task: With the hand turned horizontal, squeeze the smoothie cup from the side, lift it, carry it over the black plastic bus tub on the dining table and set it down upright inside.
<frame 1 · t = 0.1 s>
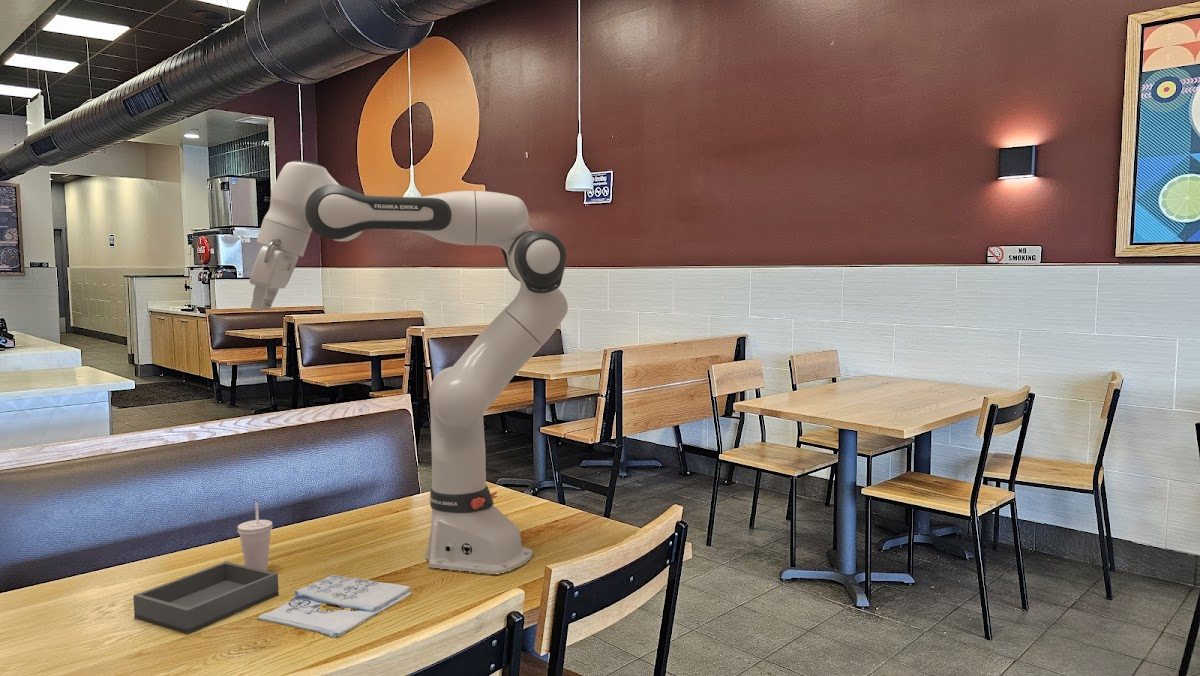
hand: (260, 309, 152), 52 cm above the table, tool tilted 20°, fingers open, 8 cm apart
bus tub: (209, 606, 139), on the table
folded bicycle print cloth: (335, 610, 139), on the table
smoothie: (256, 573, 155), on the table
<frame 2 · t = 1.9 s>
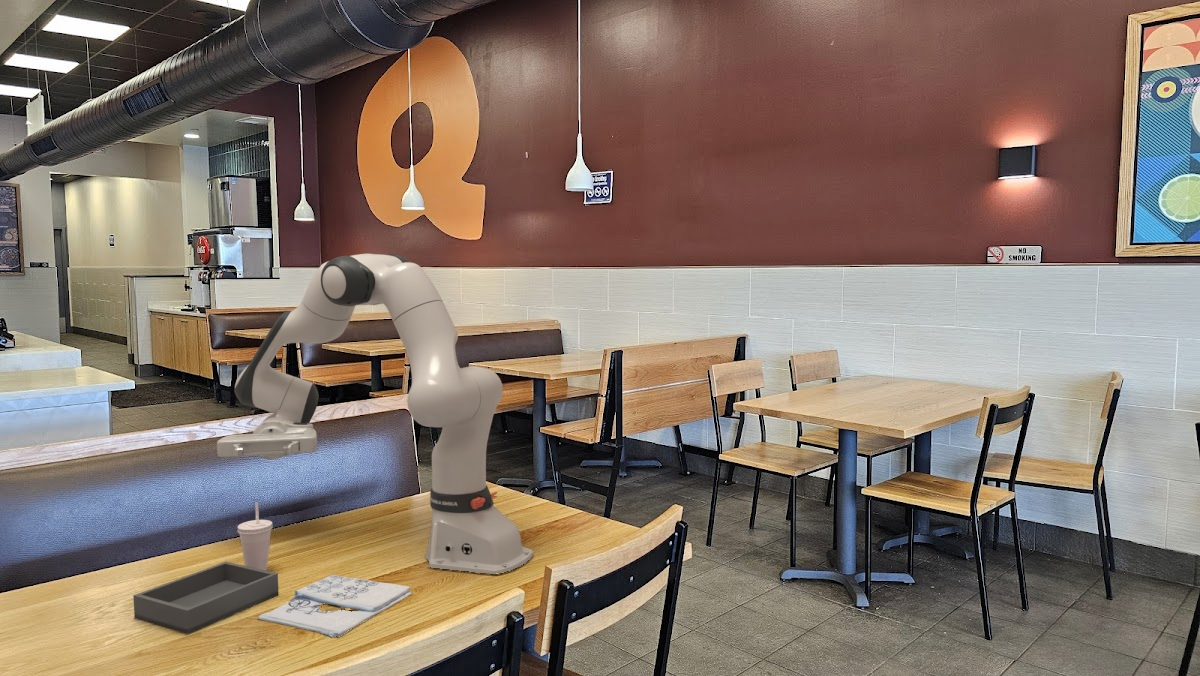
hand: (263, 451, 165), 22 cm above the table, tool horizontal, fingers open, 8 cm apart
nothing on the table moved.
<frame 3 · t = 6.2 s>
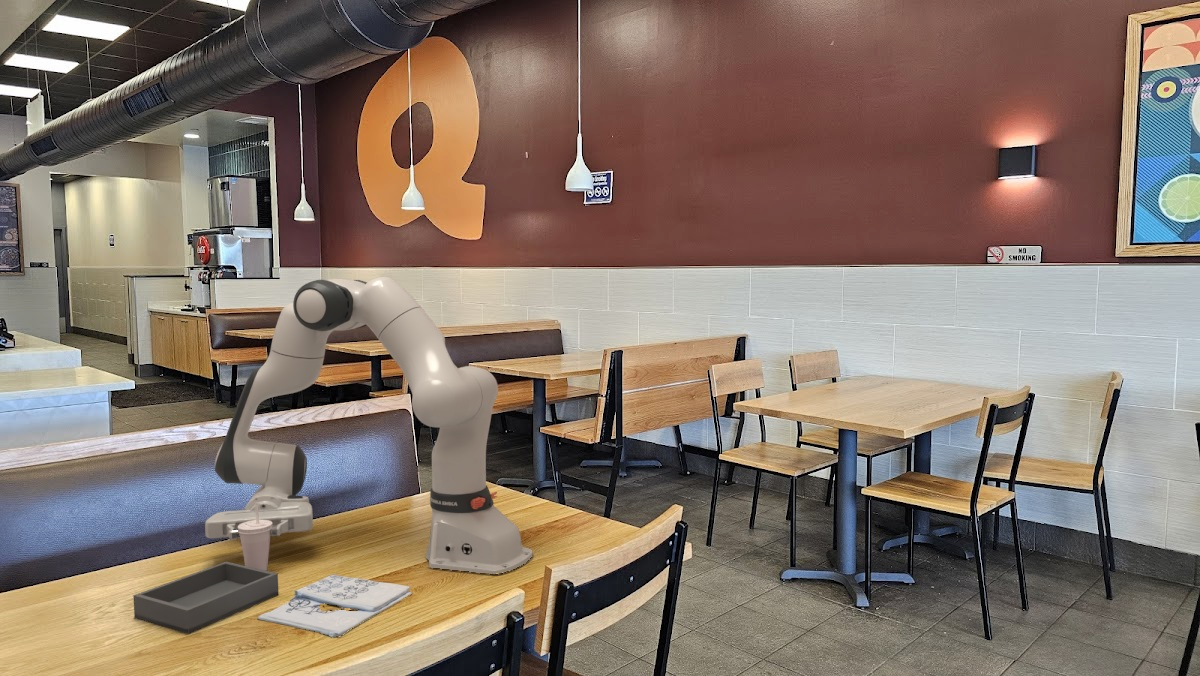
hand: (254, 533, 153), 8 cm above the table, tool horizontal, fingers closed on smoothie, 6 cm apart
smoothie: (256, 573, 155), on the table, touching gripper
everything else where it was.
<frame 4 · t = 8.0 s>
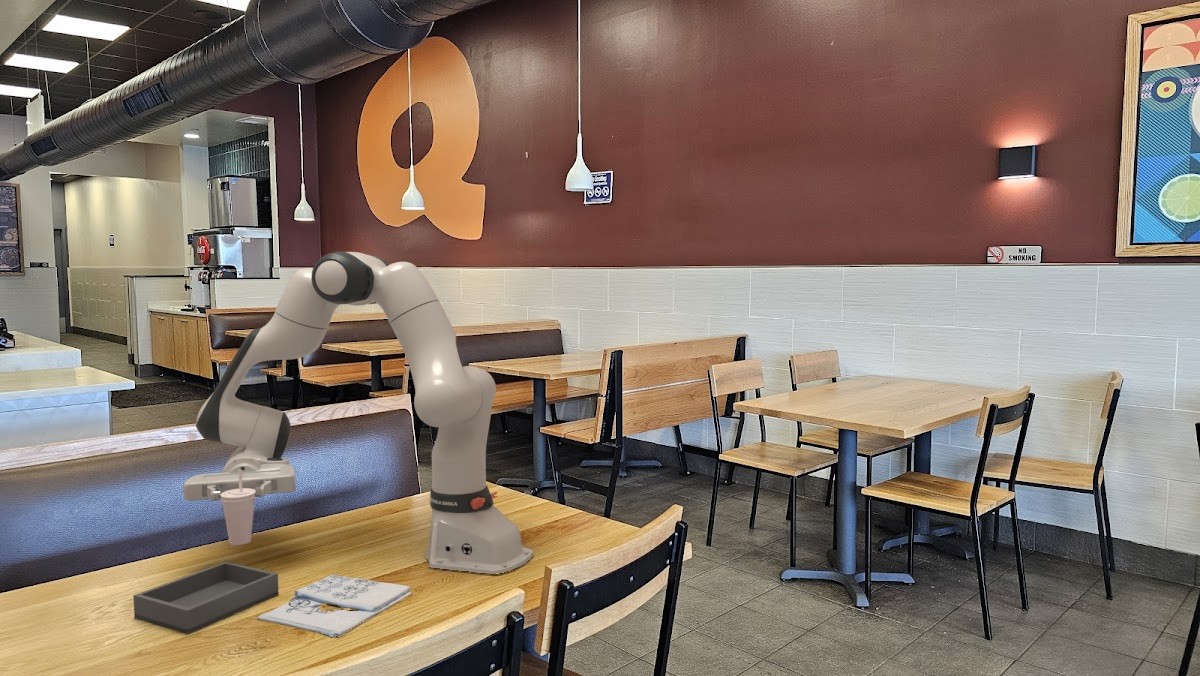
hand: (237, 494, 149), 17 cm above the table, tool horizontal, fingers closed on smoothie, 6 cm apart
smoothie: (240, 542, 151), point 7 cm above the table, touching gripper
everything else where it was.
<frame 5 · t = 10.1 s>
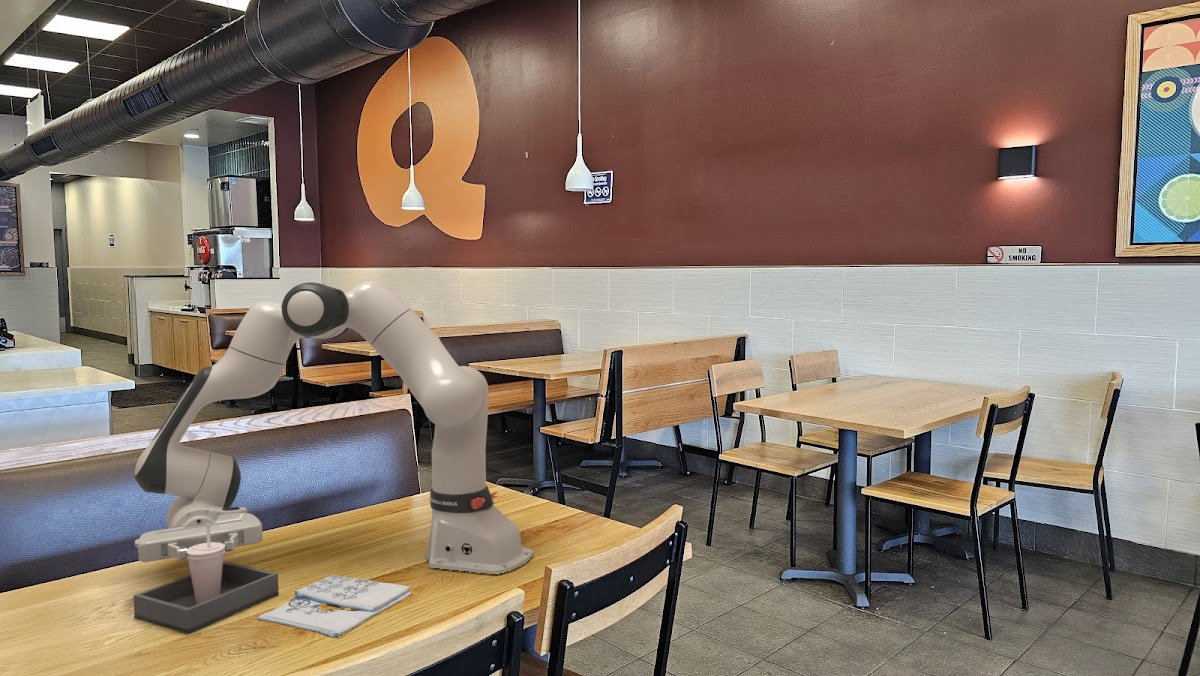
hand: (206, 550, 137), 10 cm above the table, tool horizontal, fingers closed on smoothie, 6 cm apart
smoothie: (207, 602, 139), point 1 cm above the table, touching bus tub, gripper
everything else where it was.
when the fingers open (10 cm above the table, at t = 10.5 s): smoothie stays where it is, resting on bus tub.
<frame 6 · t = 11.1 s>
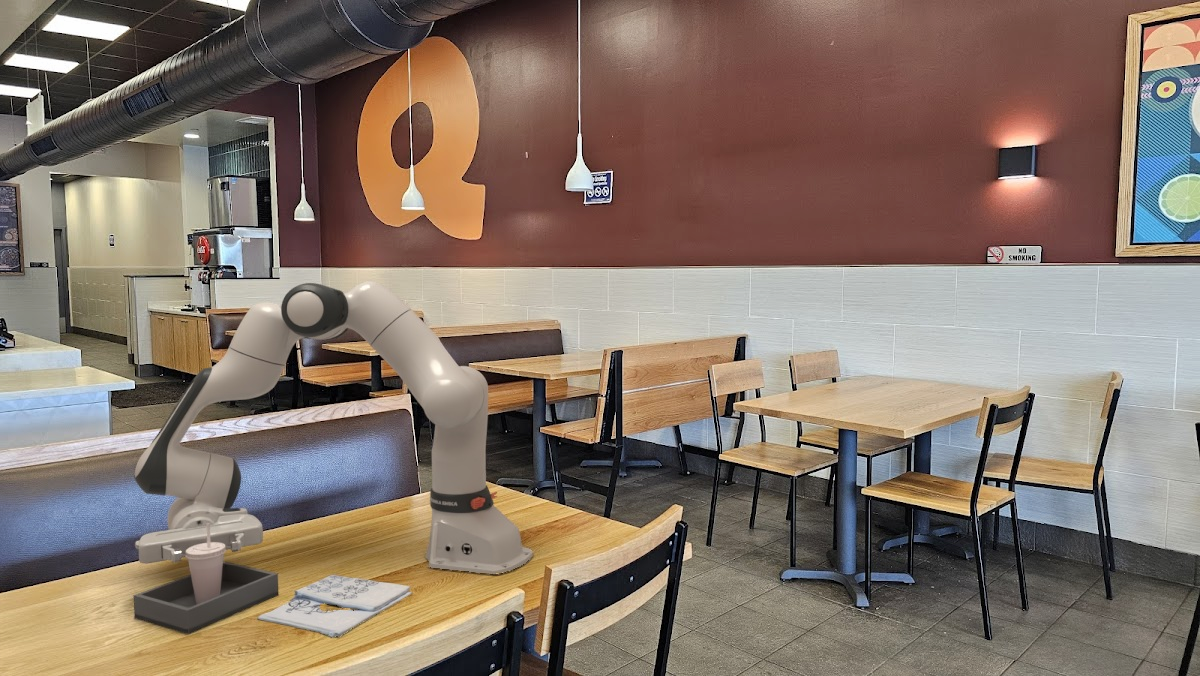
hand: (207, 552, 137), 10 cm above the table, tool horizontal, fingers open, 8 cm apart
smoothie: (207, 602, 139), point 1 cm above the table, touching bus tub
everything else where it was.
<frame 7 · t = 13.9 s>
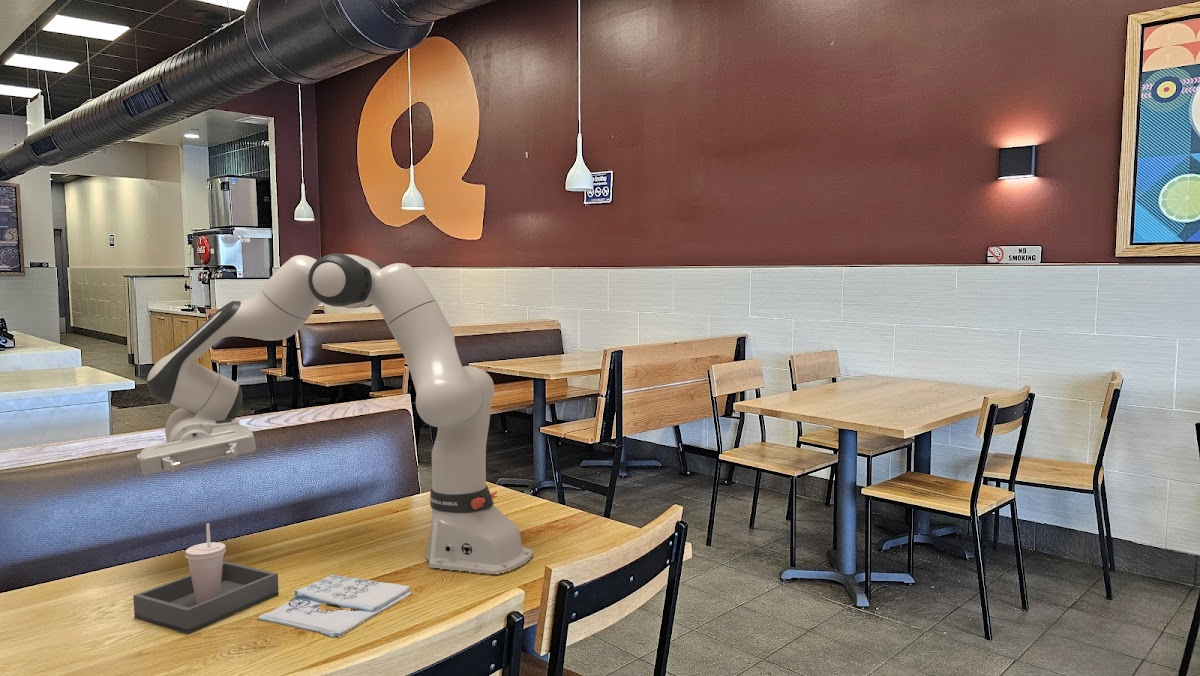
hand: (204, 461, 148), 23 cm above the table, tool horizontal, fingers open, 8 cm apart
nothing on the table moved.
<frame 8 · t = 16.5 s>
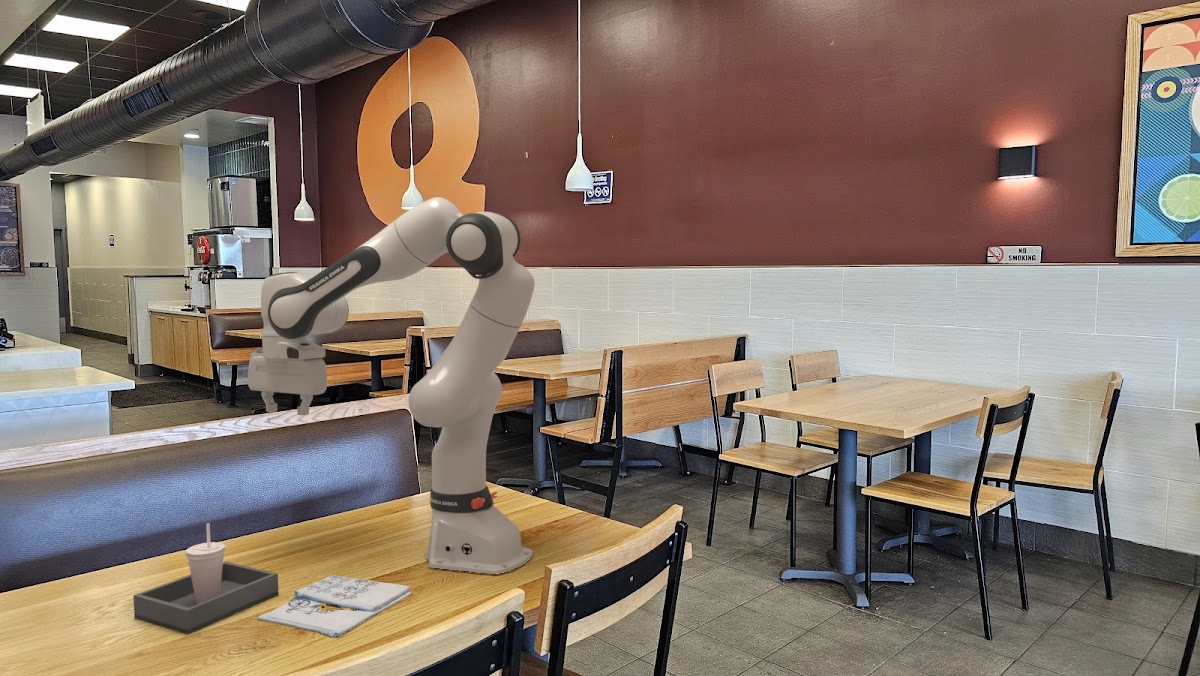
hand: (287, 413, 168), 29 cm above the table, tool pointing down, fingers open, 8 cm apart
nothing on the table moved.
at the end: smoothie inside the target area on the bus tub (0.3 cm from its centre), point 0.6 cm above the bus tub's base; smoothie tilted 0°; the gripper is holding nothing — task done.
